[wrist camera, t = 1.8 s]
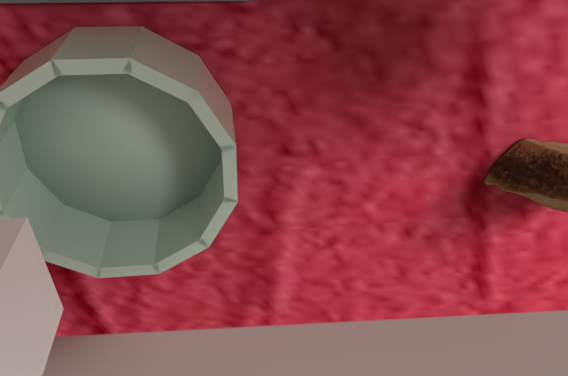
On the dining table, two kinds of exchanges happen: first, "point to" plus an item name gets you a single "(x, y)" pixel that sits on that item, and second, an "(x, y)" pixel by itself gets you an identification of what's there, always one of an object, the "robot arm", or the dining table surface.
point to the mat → (85, 0)
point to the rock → (534, 172)
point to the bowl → (117, 151)
